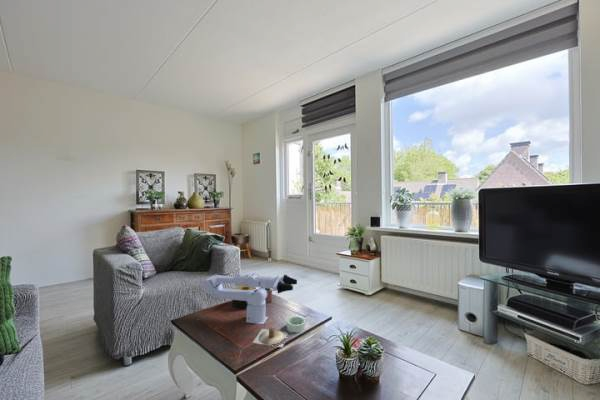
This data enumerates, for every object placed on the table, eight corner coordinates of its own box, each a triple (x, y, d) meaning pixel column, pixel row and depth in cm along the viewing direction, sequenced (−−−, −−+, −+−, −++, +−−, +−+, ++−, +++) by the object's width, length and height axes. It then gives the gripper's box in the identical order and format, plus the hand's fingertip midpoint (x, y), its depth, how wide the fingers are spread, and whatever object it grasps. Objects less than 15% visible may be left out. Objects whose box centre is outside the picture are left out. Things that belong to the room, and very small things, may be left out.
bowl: (284, 332, 129) (284, 324, 129) (289, 322, 138) (289, 315, 137) (303, 334, 127) (303, 326, 127) (306, 325, 136) (306, 317, 136)
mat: (252, 343, 119) (252, 342, 119) (262, 329, 131) (262, 328, 131) (282, 348, 116) (282, 347, 116) (289, 333, 128) (289, 332, 128)
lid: (256, 342, 119) (256, 334, 119) (264, 329, 130) (264, 322, 130) (279, 346, 117) (279, 337, 117) (286, 332, 128) (286, 325, 127)
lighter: (272, 301, 163) (272, 285, 163) (271, 303, 160) (271, 287, 159) (259, 300, 164) (260, 284, 164) (258, 302, 161) (258, 286, 160)
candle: (231, 306, 155) (231, 290, 154) (241, 300, 164) (241, 284, 164) (246, 310, 151) (247, 292, 151) (255, 302, 161) (256, 286, 160)
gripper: (263, 280, 130) (290, 282, 127) (274, 270, 144) (298, 272, 141) (264, 294, 130) (290, 296, 127) (274, 282, 145) (298, 285, 141)
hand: (294, 284), depth 134 cm, fingers open, 7 cm apart
